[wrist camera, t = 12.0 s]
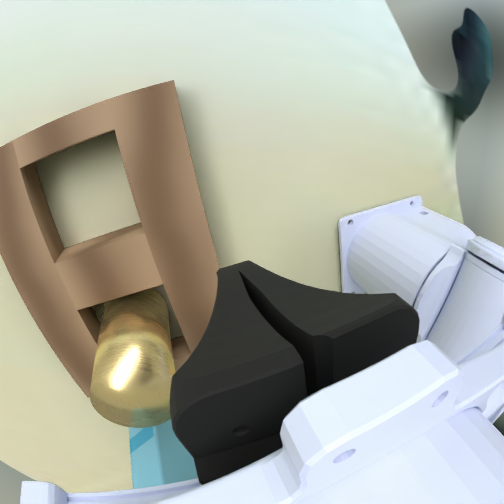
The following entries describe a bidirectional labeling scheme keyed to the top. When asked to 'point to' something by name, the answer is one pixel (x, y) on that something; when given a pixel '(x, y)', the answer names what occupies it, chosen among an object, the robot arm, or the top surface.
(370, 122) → the top surface
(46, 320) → the jig plate
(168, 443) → the data package
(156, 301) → the brass peg
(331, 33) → the top surface
